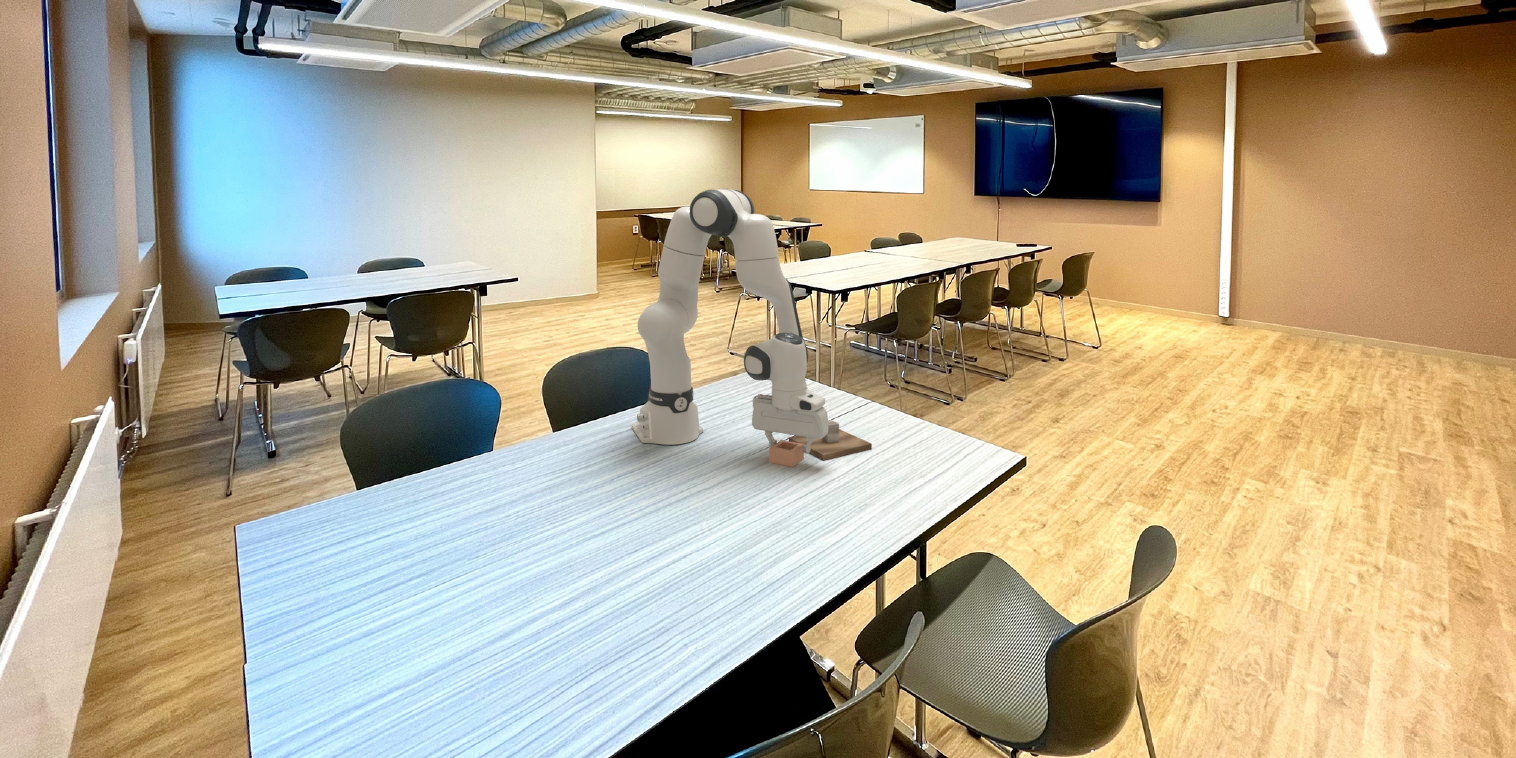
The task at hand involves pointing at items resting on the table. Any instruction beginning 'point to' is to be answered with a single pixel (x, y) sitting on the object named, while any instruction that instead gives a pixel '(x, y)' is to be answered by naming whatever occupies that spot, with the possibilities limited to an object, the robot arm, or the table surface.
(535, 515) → the table surface
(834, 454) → the post base
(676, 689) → the table surface
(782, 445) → the frame
